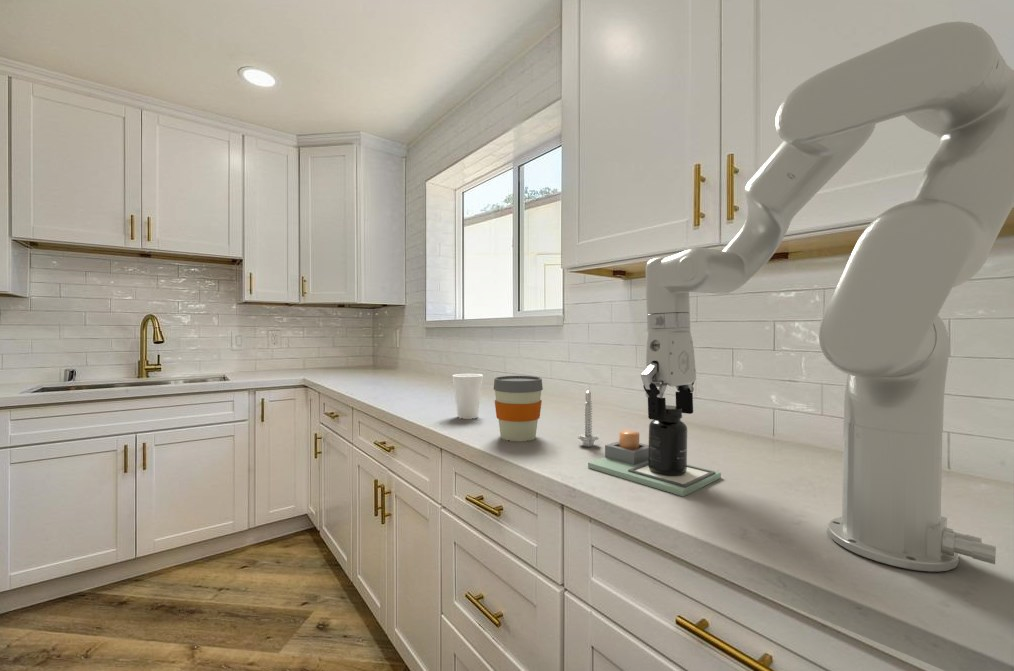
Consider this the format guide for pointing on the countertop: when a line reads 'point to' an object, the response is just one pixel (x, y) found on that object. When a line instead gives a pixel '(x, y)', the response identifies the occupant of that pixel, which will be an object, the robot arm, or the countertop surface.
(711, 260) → the robot arm
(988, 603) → the countertop surface
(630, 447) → the button
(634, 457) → the mint green tray
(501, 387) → the reusable coffee cup
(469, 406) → the foam cup
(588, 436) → the screw
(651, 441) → the supplement bottle
